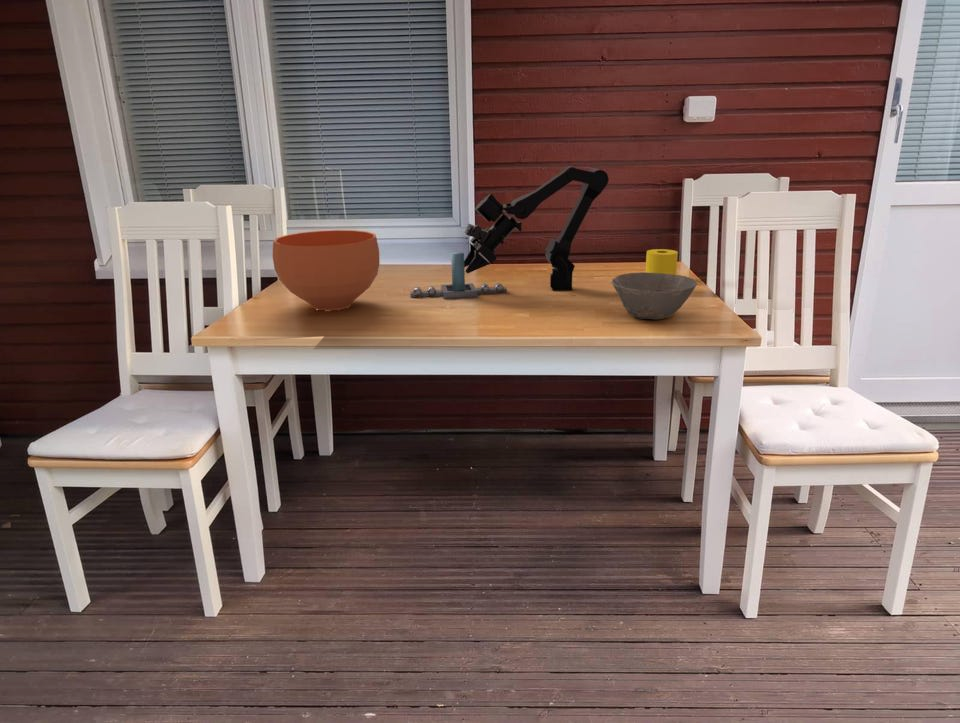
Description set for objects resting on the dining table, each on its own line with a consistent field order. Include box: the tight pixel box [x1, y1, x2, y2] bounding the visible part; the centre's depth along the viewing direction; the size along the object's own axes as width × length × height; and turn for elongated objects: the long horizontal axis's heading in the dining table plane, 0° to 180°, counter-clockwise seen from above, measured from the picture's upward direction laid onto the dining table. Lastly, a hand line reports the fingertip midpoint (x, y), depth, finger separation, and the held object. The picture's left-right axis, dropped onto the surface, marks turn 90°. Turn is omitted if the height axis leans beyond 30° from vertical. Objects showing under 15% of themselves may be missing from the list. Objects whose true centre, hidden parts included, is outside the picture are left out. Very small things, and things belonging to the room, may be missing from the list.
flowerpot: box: [272, 229, 381, 311], centre depth 192 cm, size 30×30×20 cm
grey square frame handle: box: [409, 282, 508, 300], centre depth 207 cm, size 30×10×3 cm, turn 97°
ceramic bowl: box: [611, 272, 698, 321], centre depth 178 cm, size 22×23×10 cm
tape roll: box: [644, 248, 679, 275], centre depth 219 cm, size 10×10×9 cm
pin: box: [450, 251, 466, 291], centre depth 205 cm, size 4×4×13 cm
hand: (464, 269), depth 205 cm, fingers open, 9 cm apart
